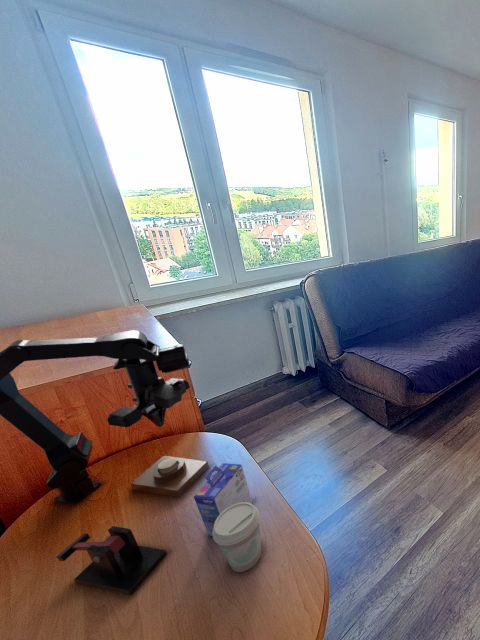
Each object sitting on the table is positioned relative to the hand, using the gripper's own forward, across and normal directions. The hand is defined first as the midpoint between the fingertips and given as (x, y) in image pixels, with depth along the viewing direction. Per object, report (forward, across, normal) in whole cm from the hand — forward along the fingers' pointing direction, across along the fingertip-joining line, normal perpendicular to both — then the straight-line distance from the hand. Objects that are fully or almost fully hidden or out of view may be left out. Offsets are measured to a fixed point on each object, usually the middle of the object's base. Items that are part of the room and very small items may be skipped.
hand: (160, 425), depth 93 cm
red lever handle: (+7, -28, -12) cm, 31 cm away
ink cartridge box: (+12, -13, -30) cm, 35 cm away
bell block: (+12, -6, -6) cm, 15 cm away
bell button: (+8, -6, -6) cm, 12 cm away
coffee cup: (+12, -21, -40) cm, 47 cm away
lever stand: (+12, -28, -17) cm, 34 cm away
